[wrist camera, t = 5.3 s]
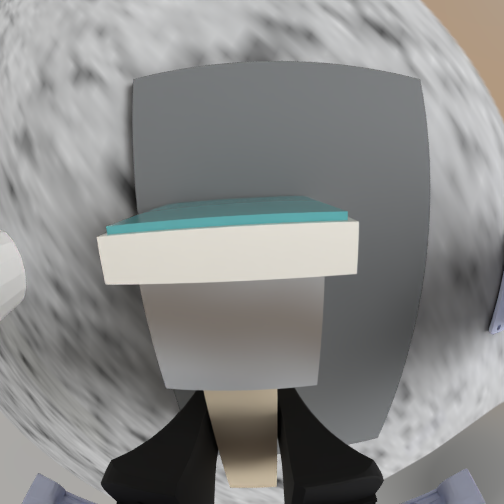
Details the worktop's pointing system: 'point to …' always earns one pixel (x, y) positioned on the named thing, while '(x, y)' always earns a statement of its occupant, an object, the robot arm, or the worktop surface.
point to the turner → (239, 358)
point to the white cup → (10, 275)
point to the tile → (230, 242)
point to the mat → (315, 187)
